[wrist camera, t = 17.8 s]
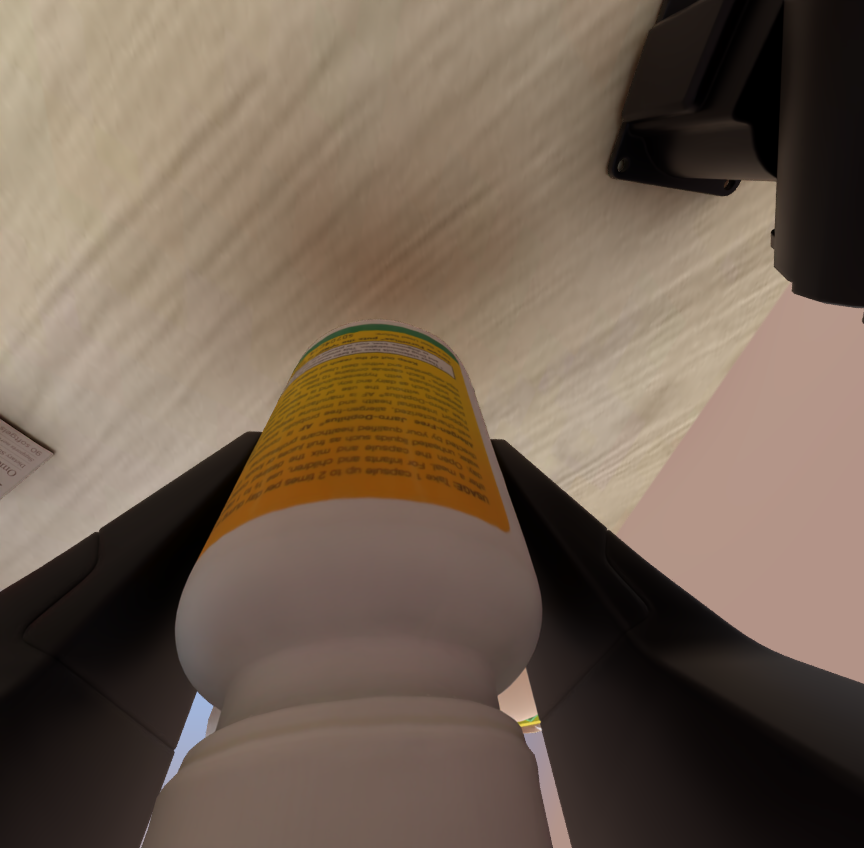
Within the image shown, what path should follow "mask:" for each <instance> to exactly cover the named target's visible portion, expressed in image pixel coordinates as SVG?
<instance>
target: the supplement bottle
mask: <svg viewBox="0 0 864 848" xmlns="http://www.w3.org/2000/svg"><path fill="white" fill-rule="evenodd" d="M541 624H542V599H541V593H540V589H539V584H538V580H537V577H536V574H535V570H534V567H533V564H532V561H531V558H530V555H529V552H528V548H527V545H526V542H525V539H524V536H523V533H522V530H521V527H520V524H519V521H518V519H517V516H516V513H515V510H514V507H513V505H512V502H511V499H510V496H509V493H508V490H507V487H506V484H505V481H504V478H503V475H502V472H501V469H500V467H499V464H498V461H497V458H496V455H495V452H494V449H493V446H492V443H491V440H490V437H489V434H488V431H487V428H486V425H485V422H484V419H483V416H482V413H481V410H480V407H479V404H478V401H477V398H476V395H475V391H474V388H473V386H472V384H471V381H470V378H469V376H468V374H467V372H466V369H465V367H464V365H463V364H462V362H461V361H460V359H459V358H458V356H457V355H456V354H455V353H454V352H453V351H452V349H451V348H450V347H449V346H448V345H447V344H446V343H445V342H443V341H442V340H441V339H439V338H438V337H436V336H435V335H433V334H431V333H429V332H427V331H424V330H423V329H421V328H417V327H415V326H412V325H409V324H406V323H402V322H399V321H393V320H385V319H368V320H361V321H356V322H352V323H348V324H345V325H342V326H340V327H337V328H335V329H333V330H331V331H329V332H328V333H326V334H325V335H323V336H322V337H320V338H319V339H317V340H316V341H315V342H314V343H313V344H312V345H311V346H310V347H309V348H308V349H307V351H306V352H305V353H304V355H303V356H302V358H301V359H300V361H299V363H298V365H297V366H296V368H295V369H294V371H293V373H292V375H291V377H290V379H289V381H288V383H287V385H286V387H285V389H284V391H283V393H282V394H281V396H280V398H279V400H278V403H277V405H276V407H275V409H274V411H273V413H272V415H271V417H270V419H269V421H268V423H267V424H266V426H265V428H264V430H263V432H262V434H261V436H260V438H259V440H258V442H257V444H256V446H255V448H254V450H253V452H252V454H251V456H250V457H249V459H248V461H247V463H246V465H245V467H244V469H243V471H242V473H241V475H240V477H239V479H238V481H237V483H236V485H235V487H234V489H233V491H232V493H231V495H230V497H229V499H228V501H227V503H226V505H225V507H224V509H223V511H222V513H221V515H220V517H219V519H218V520H217V522H216V524H215V526H214V528H213V530H212V532H211V534H210V536H209V538H208V540H207V542H206V544H205V546H204V548H203V550H202V552H201V554H200V556H199V557H198V559H197V561H196V563H195V565H194V567H193V569H192V571H191V573H190V575H189V577H188V580H187V582H186V585H185V587H184V589H183V592H182V595H181V598H180V602H179V606H178V610H177V614H176V623H175V640H176V648H177V653H178V657H179V661H180V663H181V666H182V668H183V670H184V672H185V674H186V676H187V678H188V679H189V681H190V682H191V684H192V685H193V687H194V688H195V689H196V690H197V691H198V693H199V694H200V695H201V696H203V697H204V698H205V699H206V700H207V701H208V702H209V703H211V704H212V705H213V706H215V707H216V708H217V709H219V710H220V711H221V714H220V717H219V720H218V724H217V727H216V730H215V732H214V733H212V734H210V735H208V736H207V737H206V738H204V739H203V740H202V741H200V742H199V743H198V744H196V745H195V746H194V747H193V748H192V749H191V750H190V751H189V752H188V753H187V755H186V756H185V758H184V760H183V762H182V764H181V766H180V768H179V771H178V773H177V774H176V775H175V776H174V777H173V778H172V779H171V780H170V781H169V782H168V783H167V784H166V785H165V786H164V788H163V789H162V790H161V792H160V793H159V795H158V797H157V798H156V802H155V805H154V809H153V813H152V816H151V820H150V824H149V827H148V831H147V833H146V836H145V839H144V842H143V845H142V847H141V848H553V846H552V842H551V837H550V832H549V827H548V823H547V818H546V813H545V809H544V804H543V799H542V795H541V790H540V784H539V775H538V766H537V762H536V758H535V755H534V754H533V752H532V751H531V750H530V749H529V747H528V746H527V744H526V741H525V738H524V734H523V731H522V728H521V726H520V725H519V724H518V722H517V721H515V720H514V719H513V718H512V717H510V716H509V715H507V714H505V713H504V712H502V711H500V706H499V701H498V697H497V696H498V695H500V694H501V693H502V692H504V691H505V690H506V689H507V688H508V687H509V686H511V684H512V683H513V682H514V681H515V680H516V679H517V678H518V677H519V675H520V674H521V673H522V672H523V670H524V669H525V667H526V666H527V664H528V662H529V661H530V659H531V657H532V655H533V653H534V651H535V648H536V645H537V642H538V639H539V635H540V630H541Z"/></svg>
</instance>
